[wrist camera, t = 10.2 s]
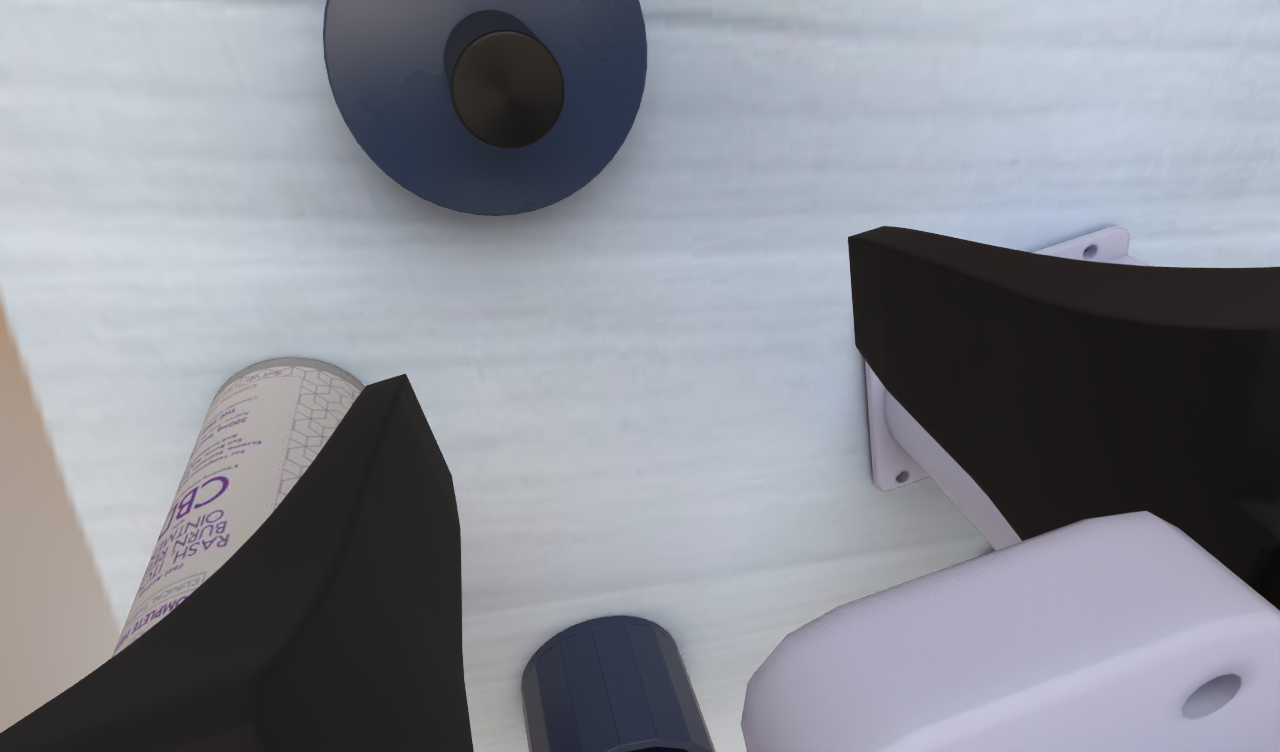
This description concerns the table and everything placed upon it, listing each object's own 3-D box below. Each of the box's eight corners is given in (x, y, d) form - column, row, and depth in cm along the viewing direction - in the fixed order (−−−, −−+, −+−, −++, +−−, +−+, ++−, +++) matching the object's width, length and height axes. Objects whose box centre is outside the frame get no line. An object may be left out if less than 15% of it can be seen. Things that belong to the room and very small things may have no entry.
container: (237, 332, 21) (-5, 951, 9) (407, 388, 23) (407, 953, 11) (186, 467, 23) (-80, 1151, 10) (349, 507, 25) (291, 1119, 12)
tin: (685, 605, 31) (732, 725, 26) (671, 712, 34) (710, 835, 30) (520, 628, 29) (540, 760, 25) (521, 738, 33) (540, 872, 28)
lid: (647, -110, 18) (707, -113, 14) (627, 201, 22) (672, 262, 18) (305, -140, 16) (275, -151, 13) (346, 204, 20) (332, 273, 16)
